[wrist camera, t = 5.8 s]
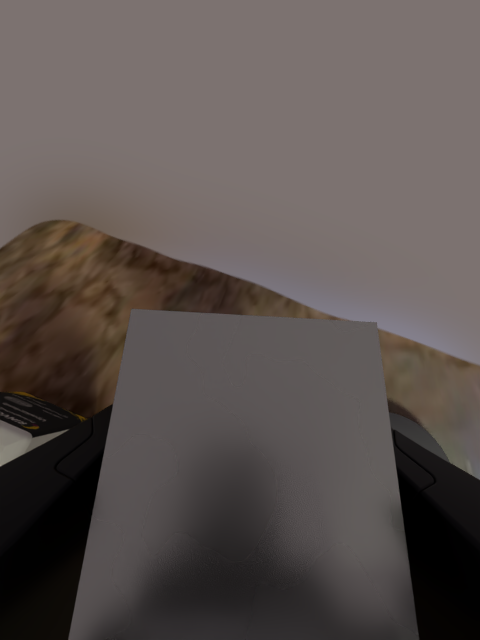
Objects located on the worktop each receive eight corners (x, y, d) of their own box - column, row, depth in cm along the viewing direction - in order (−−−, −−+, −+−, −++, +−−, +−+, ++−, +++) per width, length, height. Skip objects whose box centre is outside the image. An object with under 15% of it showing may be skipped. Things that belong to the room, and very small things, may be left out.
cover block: (272, 452, 15) (421, 655, 3) (193, 449, 15) (66, 651, 3) (272, 371, 16) (376, 322, 5) (200, 368, 16) (131, 308, 5)
